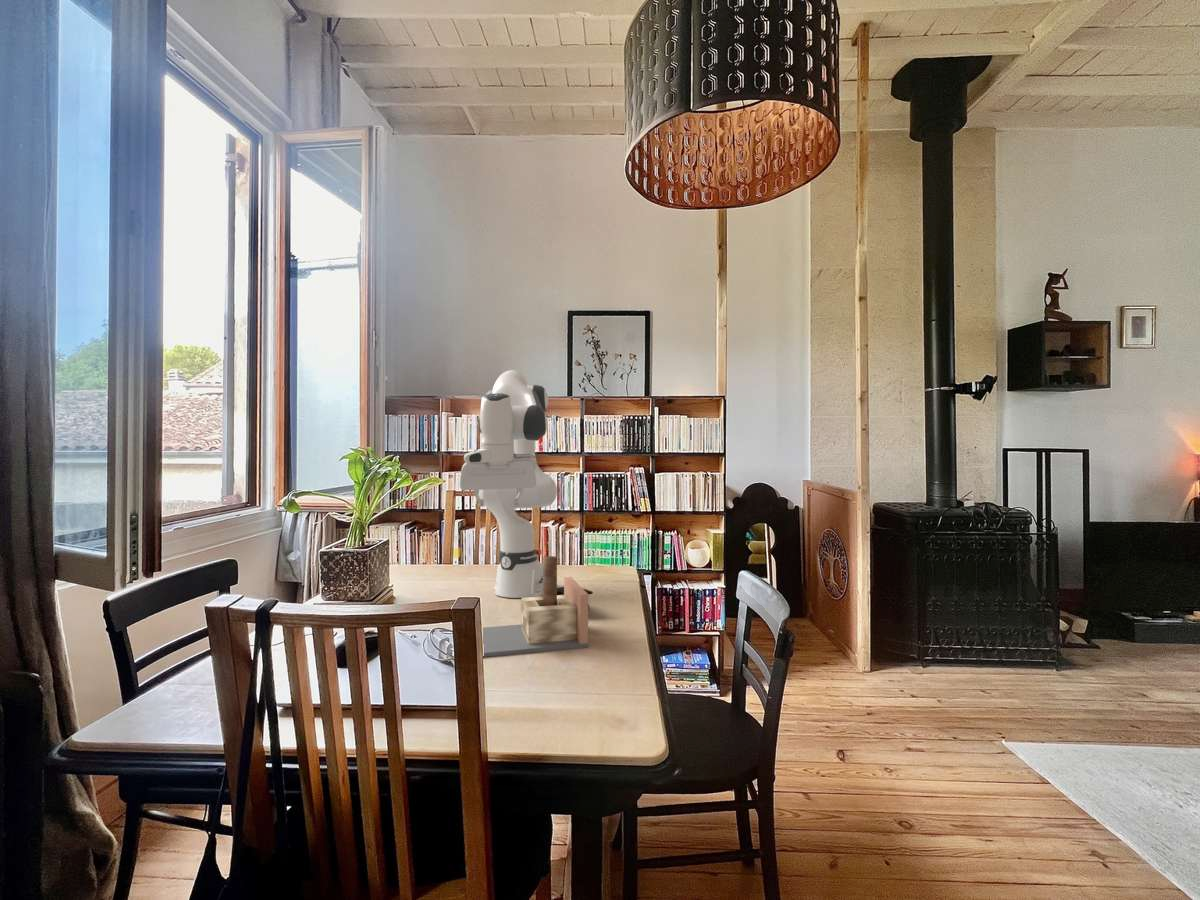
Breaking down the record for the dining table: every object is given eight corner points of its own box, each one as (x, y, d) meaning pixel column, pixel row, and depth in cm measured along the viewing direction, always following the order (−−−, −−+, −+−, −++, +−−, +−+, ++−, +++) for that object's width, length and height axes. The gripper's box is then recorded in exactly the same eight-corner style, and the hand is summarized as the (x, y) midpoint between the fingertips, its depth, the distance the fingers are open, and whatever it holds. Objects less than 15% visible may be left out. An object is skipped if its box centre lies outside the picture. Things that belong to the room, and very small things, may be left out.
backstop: (475, 658, 131) (475, 602, 131) (470, 632, 148) (470, 582, 148) (587, 647, 139) (588, 594, 138) (570, 624, 156) (571, 577, 156)
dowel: (547, 624, 148) (548, 555, 147) (559, 626, 146) (559, 557, 146) (539, 628, 145) (540, 558, 144) (551, 630, 143) (551, 559, 142)
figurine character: (549, 612, 172) (575, 619, 159) (548, 586, 172) (574, 592, 160) (568, 608, 175) (595, 615, 163) (567, 583, 176) (594, 588, 163)
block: (528, 643, 138) (528, 611, 137) (521, 628, 149) (521, 597, 149) (576, 639, 141) (576, 607, 141) (565, 624, 153) (566, 594, 152)
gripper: (535, 452, 157) (536, 501, 158) (459, 454, 153) (460, 505, 154) (537, 454, 151) (538, 505, 152) (458, 456, 147) (460, 509, 148)
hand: (499, 505), depth 153 cm, fingers open, 8 cm apart
